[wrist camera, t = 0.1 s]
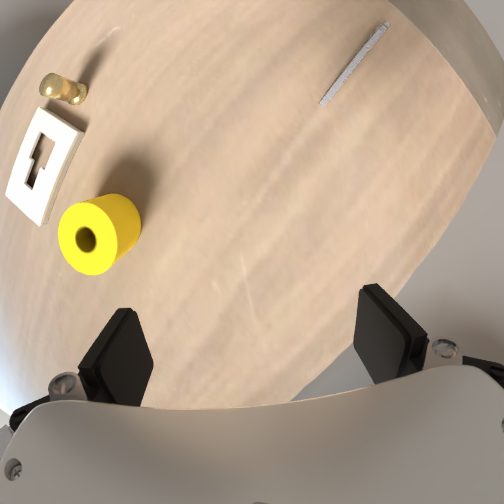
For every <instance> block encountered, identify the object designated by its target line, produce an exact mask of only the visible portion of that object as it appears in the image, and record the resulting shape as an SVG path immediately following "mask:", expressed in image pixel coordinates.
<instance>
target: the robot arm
mask: <svg viewBox="0 0 504 504" xmlns="http://www.w3.org/2000/svg"><path fill="white" fill-rule="evenodd" d="M427 335H428V334H427V333H426V332H425V331H424V330H423V328H422V327H421V326H420V325H419V324H418V323H417V322H416V321H415V320H414V319H413V318H412V317H411V316H410V315H409V314H408V313H407V312H406V311H405V310H404V309H403V308H402V307H401V306H400V305H399V304H398V303H397V302H396V301H395V300H394V299H393V298H392V297H391V296H390V295H389V294H388V293H387V292H386V291H385V290H384V289H382V288H381V287H380V286H379V285H378V284H377V283H375V284H369V285H364V286H363V289H360V291H359V298H358V308H357V317H356V325H355V333H354V340H353V343H354V348H355V350H356V352H357V353H358V355H359V357H360V359H361V360H362V362H363V364H364V365H365V367H366V369H367V371H368V372H369V374H370V376H371V378H372V380H373V381H374V383H375V385H371V386H367V387H363V388H359V389H355V390H351V391H347V392H342V393H338V394H333V395H328V396H323V397H317V398H311V399H305V400H299V401H292V402H285V403H277V404H268V405H258V406H247V407H232V408H206V409H176V408H152V407H140V405H141V402H142V399H143V396H144V393H145V390H146V387H147V384H148V381H149V378H150V375H151V372H152V370H153V359H152V356H151V354H150V351H149V348H148V345H147V342H146V340H145V337H144V334H143V331H142V328H141V325H140V321H139V318H138V315H137V313H136V311H133V310H132V309H131V308H118V309H117V310H116V312H115V313H114V315H113V316H112V317H111V319H110V320H109V322H108V323H107V324H106V326H105V327H104V329H103V330H102V331H101V333H100V334H99V336H98V337H97V339H96V340H95V342H94V343H93V344H92V346H91V347H90V349H89V350H88V352H87V353H86V355H85V356H84V358H83V359H82V361H81V363H80V364H79V366H78V369H79V373H78V375H77V374H76V373H74V372H64V373H61V374H59V375H57V376H56V377H54V378H53V379H52V380H51V382H50V384H49V386H48V391H49V395H47V396H45V397H43V398H41V399H38V400H36V401H34V402H32V403H29V404H27V405H25V406H22V407H20V408H18V409H16V410H15V411H14V412H13V414H12V415H11V417H10V421H9V423H10V424H9V425H10V426H9V427H8V426H7V425H5V426H3V427H2V428H1V429H0V504H504V366H503V365H501V364H499V363H495V362H491V361H486V360H481V359H476V358H471V357H466V356H463V355H462V353H463V352H462V347H461V345H460V344H459V343H458V342H457V341H456V340H454V339H452V338H449V337H436V338H433V339H432V340H431V341H430V340H429V339H428V338H427Z"/></svg>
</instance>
